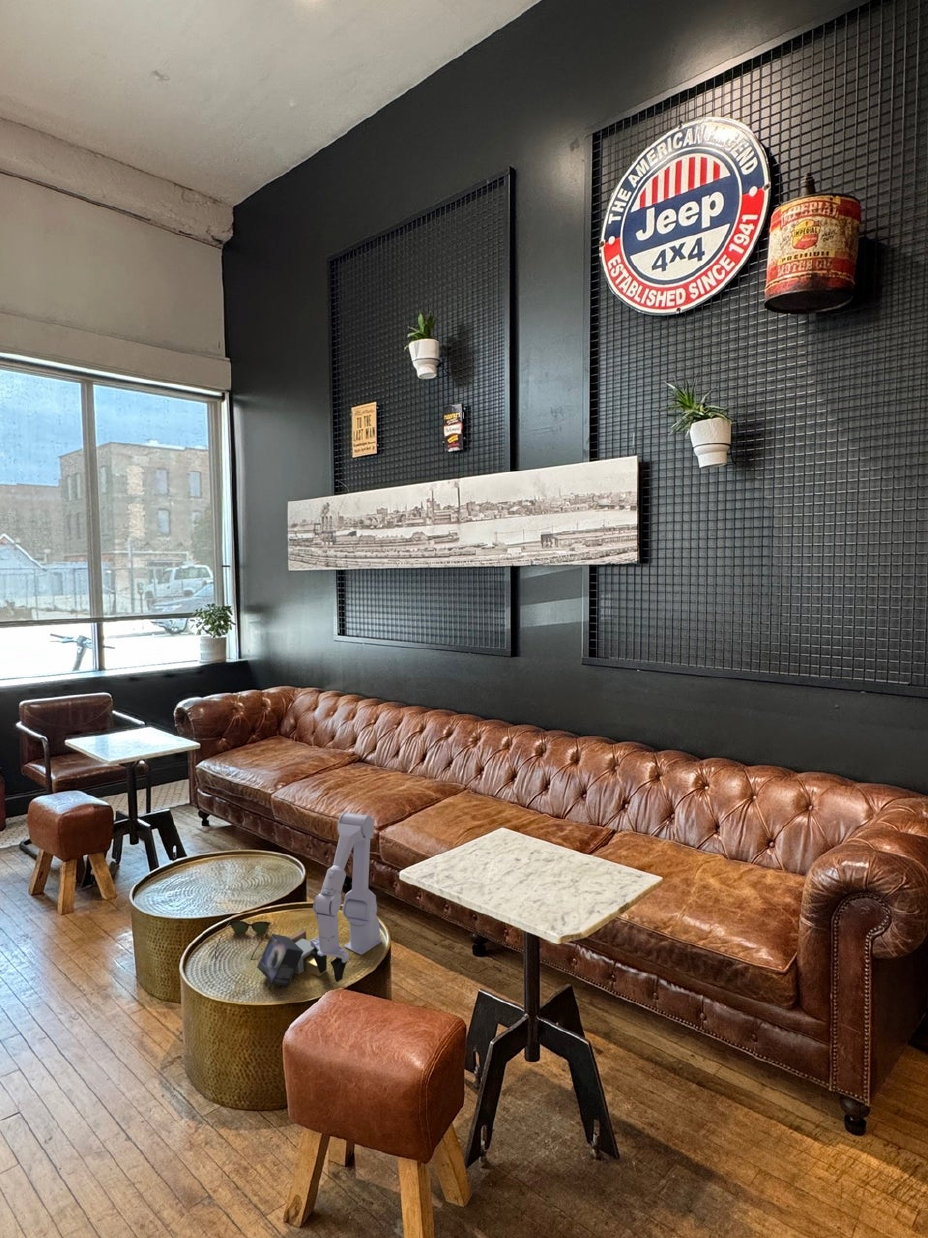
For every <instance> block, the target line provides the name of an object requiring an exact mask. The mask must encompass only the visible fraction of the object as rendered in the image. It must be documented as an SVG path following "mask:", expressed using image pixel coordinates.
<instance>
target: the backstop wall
mask: <svg viewBox="0 0 928 1238" xmlns="http://www.w3.org/2000/svg"><path fill="white" fill-rule="evenodd" d="M288 937H289V938H290V939H291V940H292V941H293V942H294V943H296V942H298V941H299V940H301V939H302V938H303V939H305V940H307V931H306V930H304V929H300V930H298V931H297V932H295V933H294V934H291V935H290V936H288Z"/></svg>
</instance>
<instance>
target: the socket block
mask: <svg viewBox="0 0 928 1238" xmlns="http://www.w3.org/2000/svg"><path fill="white" fill-rule="evenodd" d="M295 944H296V945H297V946H298V947H299V948H301V949H302V950H303V951H304V952H303V954H302V956H301V958H300V960H299V962H298V965H297V967H296V969H295V971H294V973H295V974H297V975H300V974H301V973H303V972H304V971H305V970H304V967H303V959H304V958H305V957H307V956H308V955H309V954H311V951H312V950H314V947H311V940H310V941H309V940H308V939H306V940H305V939H303V938H302V939H301V940H299V941H298V942H296V943H295Z"/></svg>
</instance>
